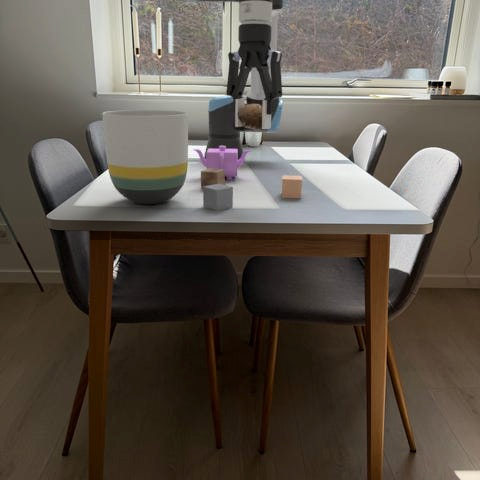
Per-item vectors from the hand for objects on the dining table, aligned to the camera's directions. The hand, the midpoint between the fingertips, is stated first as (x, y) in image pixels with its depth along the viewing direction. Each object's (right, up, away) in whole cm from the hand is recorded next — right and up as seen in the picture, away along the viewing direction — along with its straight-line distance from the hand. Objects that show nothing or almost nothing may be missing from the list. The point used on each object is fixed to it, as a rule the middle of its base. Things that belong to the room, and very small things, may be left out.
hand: (252, 127), depth 112 cm
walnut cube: (-11, -13, +18) cm, 24 cm away
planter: (-25, -18, +2) cm, 31 cm away
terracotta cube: (+11, -16, +10) cm, 22 cm away
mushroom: (0, 0, 0) cm, 1 cm away
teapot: (-9, -8, +32) cm, 34 cm away
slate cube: (-8, -20, -1) cm, 21 cm away
